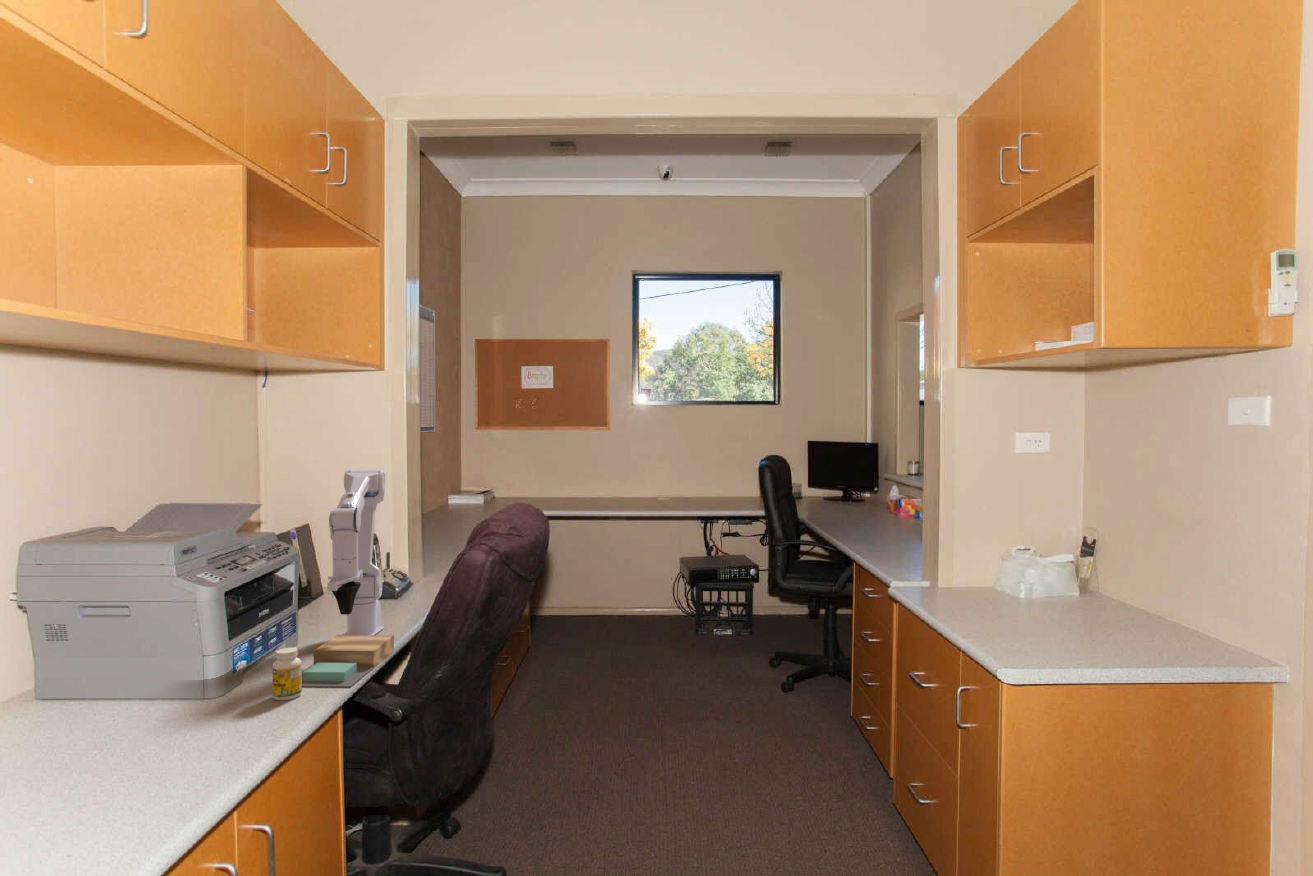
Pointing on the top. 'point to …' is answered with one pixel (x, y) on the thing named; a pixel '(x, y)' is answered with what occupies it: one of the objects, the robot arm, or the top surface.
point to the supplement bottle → (287, 674)
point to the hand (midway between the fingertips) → (346, 613)
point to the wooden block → (355, 650)
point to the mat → (339, 684)
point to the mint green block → (330, 672)
